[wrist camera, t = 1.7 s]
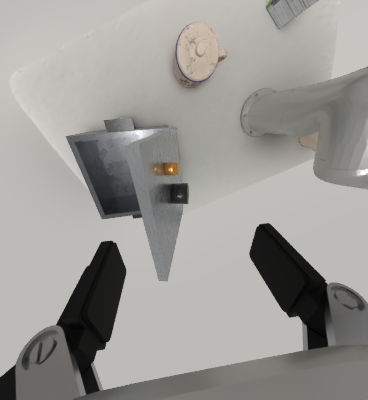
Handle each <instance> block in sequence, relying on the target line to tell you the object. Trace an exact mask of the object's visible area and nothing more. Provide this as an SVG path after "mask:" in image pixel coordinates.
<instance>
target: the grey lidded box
mask: <svg viewBox="0 0 368 400" xmlns="http://www.w3.org/2000/svg"><path fill="white" fill-rule="evenodd" d="M104 122H105V126H106V129H107V130H104V131H92V132H85V133H80V134H75V135H70V136H66V138H67V140H68V142H69V145H70V147H71V149H72V152H73V154H74V156H75V158H76V161H77V163H78V165H79V168H80V170H81V172H82V174H83V177H84V179H85V181H86V184H87V186H88V188H89V190H90V193H91V195H92V197H93V200H94V202H95V204H96V207H97V209H98V211H99V213H100V216H101V217H102V219H108V218H115V217H122V216H130V215H132V216H133V218H141V217H142V214H141V210H140V206H139V203H138V199H137V195H136V191H135V187H134V183H133V180H132V176H131V172H130V168H129V164H128V160H127V157H126V153H125V149H124V145H127V144H129V143H132V142H134V141H137V140H140V139H142V138H145V137H147V136H150V135H152V134H155V133H158V132H160V131H163V130H165V129H168V128H169V127H168V126H167V125H166V126H153V127H141V128H135V125H134V120H133V118H129V119H115V120H104Z"/></svg>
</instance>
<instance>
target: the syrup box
mask: <svg viewBox="0 0 368 400" xmlns="http://www.w3.org/2000/svg"><path fill="white" fill-rule="evenodd" d="M317 1H318V0H271V1H270V2H269V4H268V5H267V10H268V11H269V13H270V15H271V16H272V18H273V20H274V21H275V23H276V25H277V26H278V28H279V29H280V28H281V27H282V26H284V25H285V24H286V23H288V22H289V21H291V20H292V19H294V18H295V17H296V16H298V15H299V14H300V13H302V12H303V11H304V10H306V9H307V8H309V7H310V6H311V5H313V4H314V3H316V2H317Z"/></svg>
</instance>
